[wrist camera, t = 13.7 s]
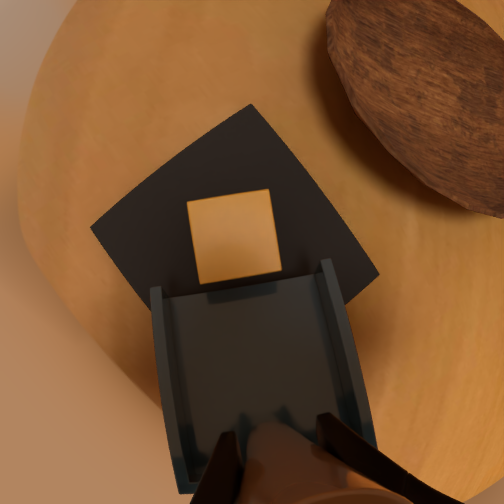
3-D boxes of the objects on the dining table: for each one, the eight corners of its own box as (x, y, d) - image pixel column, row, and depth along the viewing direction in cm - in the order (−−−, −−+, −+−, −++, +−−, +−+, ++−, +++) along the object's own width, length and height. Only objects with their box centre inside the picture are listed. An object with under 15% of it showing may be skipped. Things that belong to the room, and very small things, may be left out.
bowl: (321, -22, 19) (336, -57, 14) (504, 72, 21) (532, 57, 16) (283, 171, 20) (301, 150, 15) (509, 247, 21) (548, 248, 16)
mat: (225, 393, 20) (225, 396, 19) (92, 227, 19) (89, 227, 18) (376, 273, 20) (380, 274, 20) (250, 106, 19) (251, 103, 19)
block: (282, 270, 15) (269, 188, 15) (199, 284, 15) (186, 201, 15) (270, 264, 19) (260, 199, 19) (205, 276, 19) (194, 209, 19)
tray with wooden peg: (362, 449, 13) (570, 495, 2) (188, 482, 12) (47, 621, 1) (321, 275, 18) (412, 68, 6) (162, 302, 17) (30, 116, 5)
